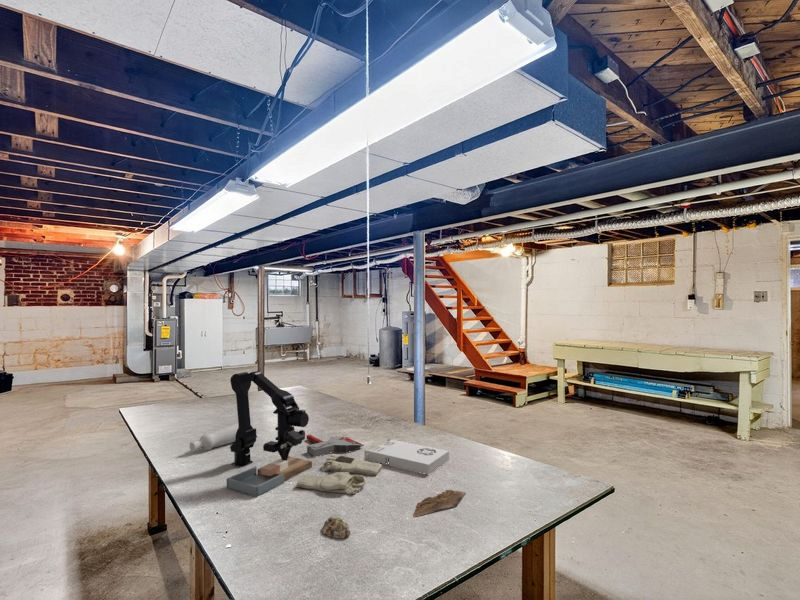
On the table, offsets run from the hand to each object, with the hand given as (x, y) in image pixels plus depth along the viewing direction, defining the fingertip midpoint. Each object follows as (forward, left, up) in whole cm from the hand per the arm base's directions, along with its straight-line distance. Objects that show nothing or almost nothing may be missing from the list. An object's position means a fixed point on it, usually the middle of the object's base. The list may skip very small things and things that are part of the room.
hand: (284, 462), depth 170 cm
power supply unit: (+39, +35, -5) cm, 53 cm away
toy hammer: (-5, +34, -5) cm, 34 cm away
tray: (0, -15, -4) cm, 16 cm away
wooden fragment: (+68, +4, -4) cm, 68 cm away
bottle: (-53, +10, -4) cm, 54 cm away
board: (0, 0, -4) cm, 4 cm away
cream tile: (0, -3, -1) cm, 4 cm away
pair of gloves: (+25, +6, -5) cm, 26 cm away
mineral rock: (+47, -27, -4) cm, 55 cm away
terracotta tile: (0, -8, -1) cm, 9 cm away
